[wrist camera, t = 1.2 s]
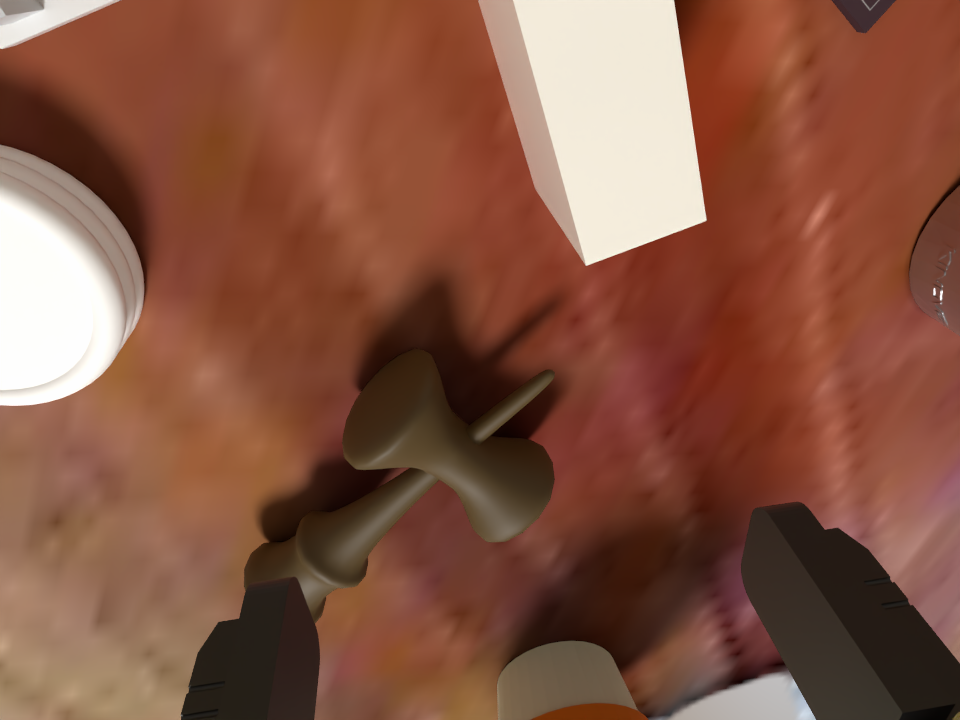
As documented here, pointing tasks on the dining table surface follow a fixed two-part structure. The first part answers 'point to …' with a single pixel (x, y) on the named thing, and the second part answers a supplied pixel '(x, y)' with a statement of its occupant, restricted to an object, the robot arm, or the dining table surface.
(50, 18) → the dish rack
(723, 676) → the dining table surface
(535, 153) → the cream rectangular block
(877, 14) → the chocolate bar
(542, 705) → the reusable coffee cup
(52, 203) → the white round tin
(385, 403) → the kendama
